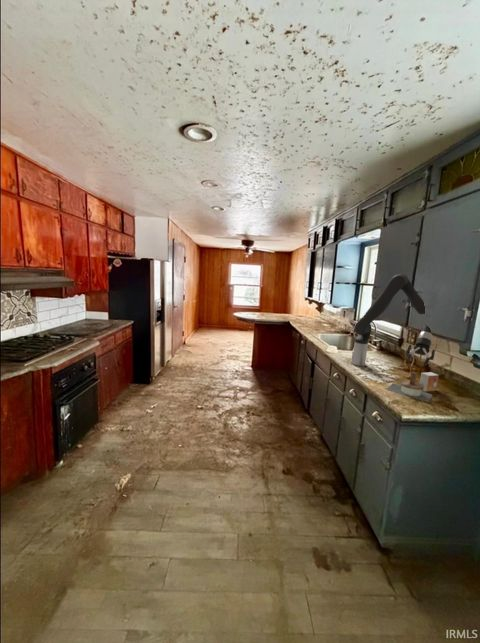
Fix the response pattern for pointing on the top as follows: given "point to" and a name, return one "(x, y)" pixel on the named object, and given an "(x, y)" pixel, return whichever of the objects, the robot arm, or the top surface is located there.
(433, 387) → the small box
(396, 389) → the mat
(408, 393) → the bowl
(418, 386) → the lid
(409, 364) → the top surface
